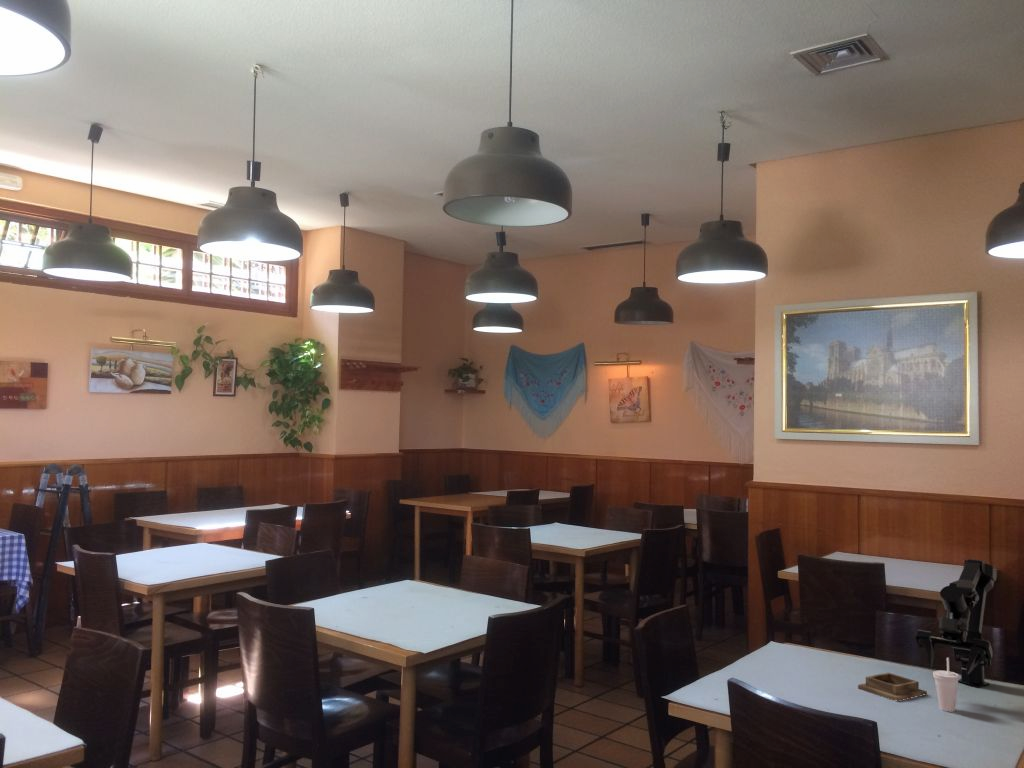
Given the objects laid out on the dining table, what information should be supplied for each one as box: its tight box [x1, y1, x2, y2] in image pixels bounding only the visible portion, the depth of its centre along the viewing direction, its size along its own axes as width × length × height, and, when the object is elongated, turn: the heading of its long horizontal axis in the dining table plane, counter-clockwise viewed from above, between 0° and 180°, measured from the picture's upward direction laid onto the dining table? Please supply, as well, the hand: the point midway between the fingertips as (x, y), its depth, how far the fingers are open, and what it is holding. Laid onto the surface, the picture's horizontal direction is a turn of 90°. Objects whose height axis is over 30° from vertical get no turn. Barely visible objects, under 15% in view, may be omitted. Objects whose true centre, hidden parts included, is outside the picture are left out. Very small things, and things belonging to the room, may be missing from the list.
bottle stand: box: [857, 672, 928, 702], centre depth 230 cm, size 13×13×4 cm
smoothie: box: [932, 657, 960, 713], centre depth 216 cm, size 6×6×14 cm
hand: (948, 670), depth 218 cm, fingers open, 9 cm apart
